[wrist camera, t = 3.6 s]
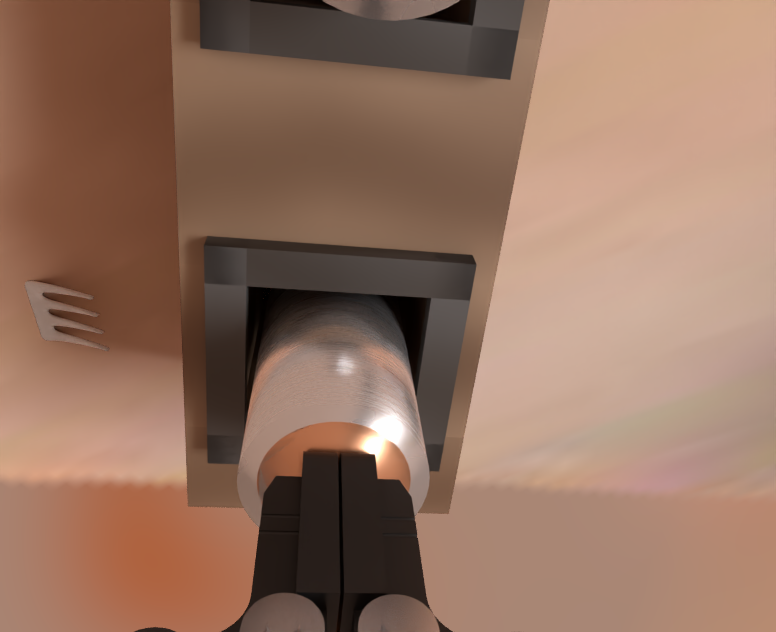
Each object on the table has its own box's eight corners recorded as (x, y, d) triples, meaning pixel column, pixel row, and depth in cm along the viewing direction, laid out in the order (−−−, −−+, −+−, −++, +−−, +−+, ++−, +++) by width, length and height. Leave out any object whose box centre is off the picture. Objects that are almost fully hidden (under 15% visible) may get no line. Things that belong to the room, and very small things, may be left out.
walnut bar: (221, -365, 18) (140, -590, 10) (524, -315, 19) (656, -486, 11) (223, 364, 28) (184, 521, 20) (420, 374, 29) (451, 527, 21)
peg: (268, 247, 20) (237, 400, 13) (406, 257, 21) (442, 409, 14) (265, 364, 22) (236, 551, 15) (391, 371, 22) (416, 554, 16)
